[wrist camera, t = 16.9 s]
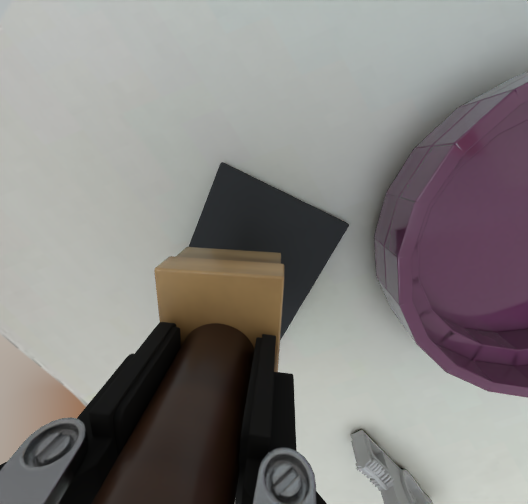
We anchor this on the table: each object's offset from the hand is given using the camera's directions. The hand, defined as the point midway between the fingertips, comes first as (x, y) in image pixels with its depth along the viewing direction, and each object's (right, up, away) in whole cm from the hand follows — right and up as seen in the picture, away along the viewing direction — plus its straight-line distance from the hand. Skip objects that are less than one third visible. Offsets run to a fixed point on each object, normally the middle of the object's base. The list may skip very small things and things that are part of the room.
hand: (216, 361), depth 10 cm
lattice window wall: (+14, -16, +14) cm, 25 cm away
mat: (+1, +3, +9) cm, 9 cm away
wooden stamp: (0, +1, +3) cm, 3 cm away
